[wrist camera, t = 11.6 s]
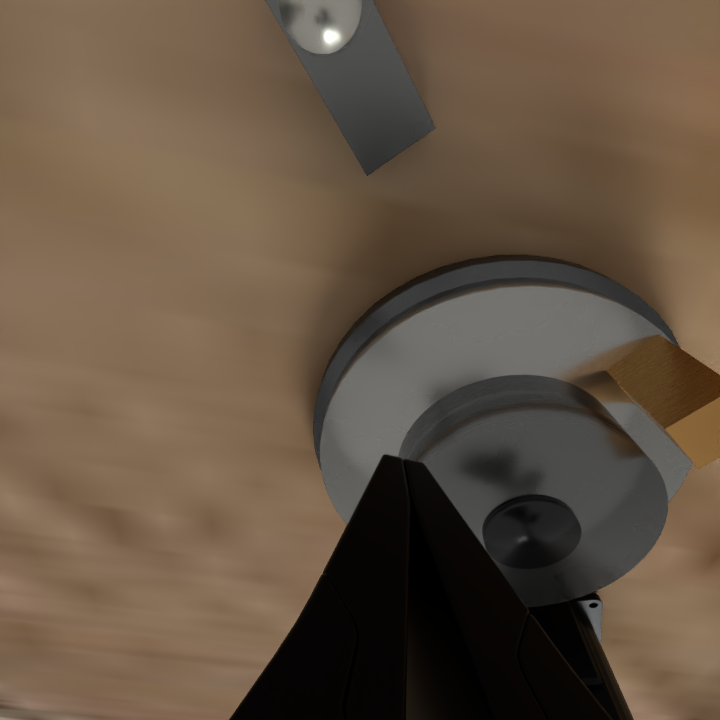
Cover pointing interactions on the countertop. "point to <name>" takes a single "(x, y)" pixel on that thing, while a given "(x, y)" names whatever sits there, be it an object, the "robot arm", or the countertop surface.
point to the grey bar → (356, 75)
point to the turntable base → (461, 276)
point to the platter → (518, 357)
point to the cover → (543, 482)
